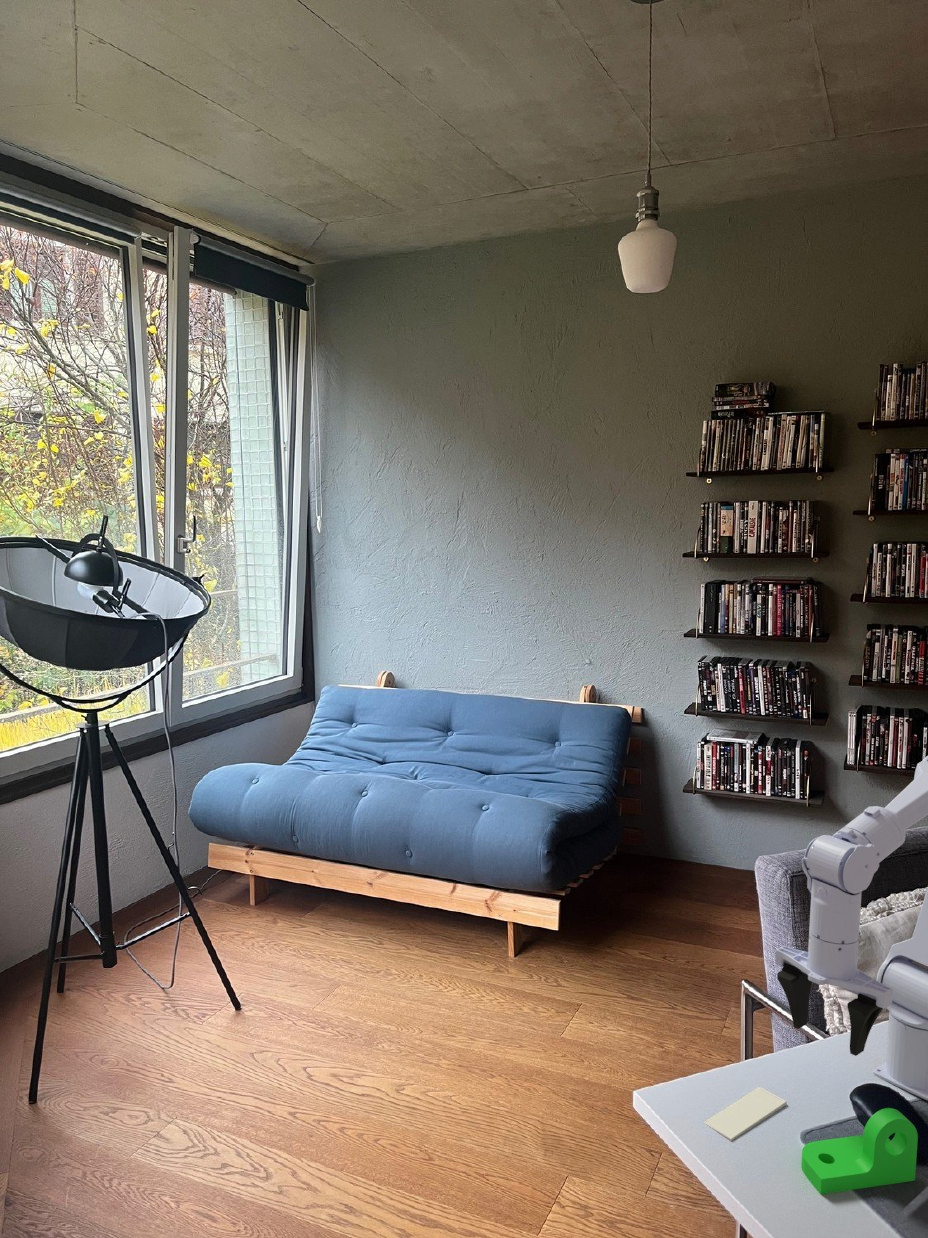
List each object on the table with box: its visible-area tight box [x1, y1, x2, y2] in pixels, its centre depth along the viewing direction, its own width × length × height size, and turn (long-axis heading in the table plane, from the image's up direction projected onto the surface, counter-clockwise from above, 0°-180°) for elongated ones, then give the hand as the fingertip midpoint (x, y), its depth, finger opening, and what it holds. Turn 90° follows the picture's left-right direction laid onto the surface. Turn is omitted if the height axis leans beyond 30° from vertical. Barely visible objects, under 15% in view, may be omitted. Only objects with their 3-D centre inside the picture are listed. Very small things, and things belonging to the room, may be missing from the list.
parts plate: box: [703, 1086, 788, 1142], centre depth 118 cm, size 12×4×1 cm, turn 129°
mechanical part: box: [800, 1107, 919, 1195], centre depth 109 cm, size 12×6×8 cm, turn 102°
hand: (827, 1038), depth 118 cm, fingers open, 7 cm apart
